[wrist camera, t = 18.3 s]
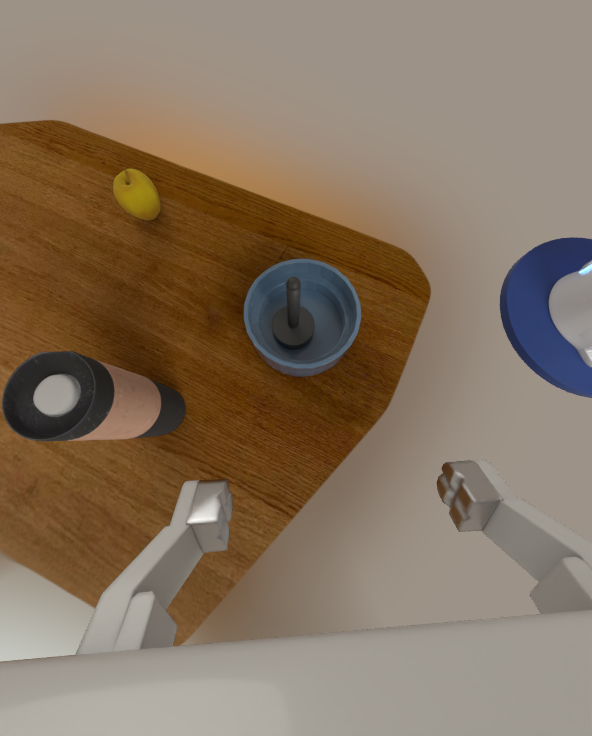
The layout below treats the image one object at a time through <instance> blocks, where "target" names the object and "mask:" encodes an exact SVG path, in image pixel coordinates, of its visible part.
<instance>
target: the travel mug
mask: <svg viewBox="0 0 592 736" xmlns="http://www.w3.org/2000/svg"><path fill="white" fill-rule="evenodd" d="M2 409H3V414H4V417H5V420H6V422H7V423H8V425H9V426H10V428H11V429H12V430H13V431H14V432H16V433H17V434H19V435H20V436H22V437H24V438H27V439H30V440H35V441H71V440H106V439H130V438H140V437H150V436H160V435H165V434H168V433H170V432H172V431H174V430H175V429H176V428H177V427H178V426H179V425H180V424H181V422H182V420H183V418H184V415H185V403H184V401H183V398H182V397H181V395H180V394H179V393H178V392H176V391H175V390H173V389H171V388H169V387H167V386H164V385H162V384H160V383H157V382H155V381H153V380H151V379H148V378H146V377H144V376H141V375H138V374H135V373H132V372H129V371H126V370H124V369H121V368H118V367H115V366H112V365H109V364H106V363H103V362H101V361H98V360H95V359H92V358H89V357H86V356H83V355H81V354H78V353H76V352H74V351H62V352H41V353H38V354H36V355H34V356H32V357H30V358H29V359H27V360H26V361H25V362H23V363H22V364H21V365H20V366H19V367H18V368H17V369H16V370H15V371H14V372H13V374H12V375H11V377H10V378H9V380H8V382H7V384H6V386H5V389H4V393H3V398H2Z"/></svg>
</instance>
